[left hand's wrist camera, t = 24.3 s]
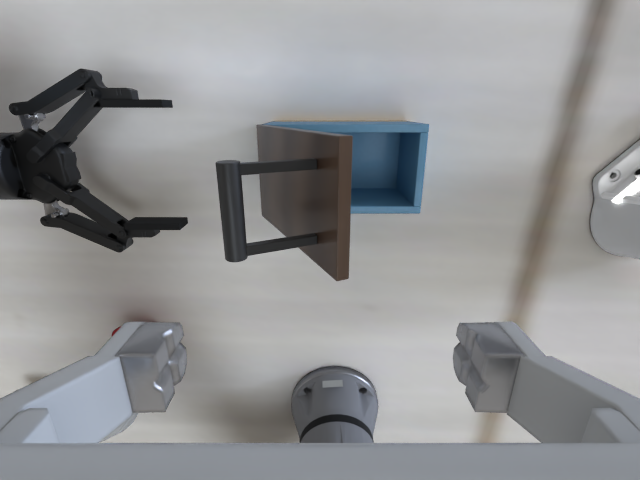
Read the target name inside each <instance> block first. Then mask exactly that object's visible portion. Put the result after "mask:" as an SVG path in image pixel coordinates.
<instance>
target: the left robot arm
mask: <svg viewBox="0 0 640 480" xmlns="http://www.w3.org/2000/svg"><path fill="white" fill-rule="evenodd" d="M611 173H612V176H611V177H610V175H611ZM593 193H594V205H593V208H592V212H591V219H590V226H591V232H592V235H593V237H594V239H595V241H596V243H597V244H598V245H599V246H600V247H601V248H602V249H603V250H605V251H606V252H608V253H611V254H613V255H617V256H624V257H631V258H635V259H640V140H639V141H637V142H636V143H635V144H634V145H633V146H631V147H630V148H629V149H628V150H626V151H625V152H624V153H623V154H621V155H620V156H619V157H618V158H616V159H615V160H614V161H613V162H612V163H610V164H609V165H608V166H607V167H605V168H604V169H603V170H602V171H600V172H599V173H598V174H597V175H596V176H595V177H594V179H593ZM183 336H184V333H183V328H182V325H181V324H180V323H178V322H127V323H124V324H123V325H122V326H121V327H120V329H119V330H118V331H117V332H116V333H115V334H114V335H113V336H112V337H111V338H110V339H109V340H108V342H107V343H106V344H105V345H104V346H103V347H102V348H101V349H100V350H99V351H98V352H97V353H96V354H95V356H88V357H86V358H84V359H82V360H80V361H77V362H75V363H73V364H71V365H69V366H67V367H65V368H63V369H61V370H59V371H57V372H55V373H52V374H50V375H48V376H46V377H44V378H42V379H40V380H38V381H36V382H34V383H32V384H30V385H28V386H25V387H23V388H21V389H19V390H17V391H15V392H13V393H11V394H9V395H7V396H5V397H3V398H0V480H640V399H639V398H637V397H635V396H633V395H631V394H629V393H627V392H625V391H623V390H621V389H619V388H616V387H614V386H612V385H610V384H608V383H606V382H604V381H602V380H600V379H598V378H596V377H594V376H592V375H589V374H587V373H585V372H583V371H581V370H579V369H577V368H575V367H573V366H571V365H569V364H567V363H565V362H563V361H560V360H558V359H556V358H554V357H552V356H545V355H544V353H543V352H542V351H541V350H540V349H539V348H538V347H537V346H536V345H535V344H534V343H533V342H532V340H531V339H530V338H529V337H528V336H527V335H526V334H525V333H524V332H523V331H522V330H521V329H520V327H519V326H518V325H517V324H516V323H514V322H486V323H459V325H458V328H457V333H456V336H457V338H458V339H459V341H460V343H459V344H458V345H457V346H456V347H455V348H454V353H453V364H454V370H455V373H456V376H457V378H458V380H459V381H460V382H461V383H463V384H464V385H465V386H466V392H465V394H466V395H467V397H468V399H469V401H470V403H471V405H472V407H473V409H474V411H475V412H496V413H507V415H508V416H510V417H511V418H512V419H513V420H515V421H516V422H517V423H518V424H519V425H521V426H522V427H523V428H524V429H526V430H527V431H528V432H529V433H530V434H532V435H533V436H534V437H535V438H536V439H538V440H539V441H540V442H541V443H99V442H100V441H101V440H102V439H104V438H105V437H106V436H107V435H109V434H110V433H111V432H112V431H113V430H115V429H116V428H117V427H118V426H119V425H121V424H122V423H123V422H124V421H126V420H127V419H128V418H129V417H130V416H132V415H133V413H143V412H165V411H166V409H167V407H168V405H169V403H170V401H171V399H172V397H173V395H174V394H175V391H174V386H175V385H176V384H177V383H179V382H180V381H181V380H182V378H183V376H184V374H185V369H186V365H187V352H186V348H185V347H184V346H183V345H182V344H181V343H180V341H181V339H182V338H183Z"/></svg>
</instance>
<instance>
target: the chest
mask: <svg viewBox="0 0 640 480" xmlns="http://www.w3.org/2000/svg"><path fill="white" fill-rule="evenodd" d="M262 125H272V126H280V127H288V128H296V129H304V130H312V131H320V132H328V133H336V134H344V135H351V136H353V148H352V181H351V213H420V209H421V207H420V206H421V199H422V189H423V179H424V169H425V159H426V149H427V140H428V130H429V124H423V123H416V122H409V121H273V122H270V123H266V124H262Z"/></svg>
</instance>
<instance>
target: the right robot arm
mask: <svg viewBox="0 0 640 480" xmlns="http://www.w3.org/2000/svg"><path fill="white" fill-rule="evenodd" d="M84 92H85V93H84ZM82 93H84V94H83V95H82V97H81V98H80V99H79V100H78V101H77V102H76V103H75V105H74V106H73V107H72V108H71V109H70V110H69V111H68V113H67V114H66V115H65V116H64V117H63V118H62V119H61V121H60V122H59V123H58V124H57V125H56V126H55V127H54V128H53V129H52V130H50V131H48V132H45V131H44V130H42V129H39V128H38V124H39V122H41V121H43V119H45V118H46V115H45V114H46V113H50V112H52V111H54V110H56V109H58V108H59V107H61V106H63V105H64V104H66V103H67V102H69V101H71V100H72V99H74V98H76V97H77V96H79V95H81V94H82ZM103 107H141V108H173V106H172V100H139V98H138V92H137V90H134V89H130V88H107V87H106V86H105V85H104V84H103V82H102V75H101V74H100V73H99V72H97V71H92V70H87V69H79V70H77V71H75V72H74V73H72V74H71V75H69V76H67V77H66V78H64V79H63V80H61V81H59V82H58V83H56V84H55V85H53V86H51V87H50V88H48V89H47V90H45V91H43V92H42V93H40V94H39V95H37V96H35V97H34V98H32V99H31V100H29V101H27V102H19V103H12V104H10V105H9V110H10V112H11V113H12V114H14V115H19V118H20V120H21V123H22V126H23V128H24V130H22V131H21V132H19V133H0V199H24V200H29V199H33V200H38V201H40V202H42V203H44V208H45V214H46V216H44V217H42V218H41V219H40V221H41V223H42V225H44V226H48V227H57V228H62V229H64V230H67V231H69V232H71V233H74V234H76V235H78V236H81V237H83V238H86V239H88V240H90V241H93V242H95V243H97V244H100V245H102V246H104V247H107V248H109V249H111V250H114V251H116V252H122V251H124V250H125V249H126V248H128V247H129V246H131V245H132V244H133V239H132V238H133V237H153V236H155V235H157V234H158V233H159V232H160V230H180V229H182V228H183V227H184V226H185V225H186V224H188V220H187V217H135V218H133V219H131V220H130V221H128V220H127V219H126V218H124V217H123V216H121V215H120V214H119V213H117V212H116V211H114V210H113V209H111V208H110V207H109V206H107V205H106V204H104V203H103V202H102V201H100V200H99V199H97V198H96V197H94V196H93V195H92V194H90V193H89V190H88V189H87V188H85V187H84V186H83V185H81V184H80V183H78V182H79V179H81V176H80V172H79V170H78V168H77V166H76V154H75V152H72V150H71V149H70V148H69V147H70V146H71V145H72V144H73V143H74V141H75V140H76V139H77V135H78V134H79V133H80V132H81V131H82V130H83V129H84V128H85V127H86V125H87V124H88V123H89V122H90V121H91V120H92V119H93V118H94V117H95V116H96V114H97V113H98V112H99V111H100V110H101V109H102V108H103ZM70 191H72V192H70ZM59 200H60V201H62V202H63V203H65V204H68V205H72V206H74V207H75V208H77V209H78V210H79V211H81V212H82V213H84V214H85V215H87V216H88V217H90V218H91V219H93V220H94V221H95V222H94V221H92V220H90V219H87V218H85V217H83V216H80V215H78V214H75V213H70V212H69V210H68V209H67V208H63V207H61V206H59V204H58V202H57V201H59ZM96 222H97V223H96ZM291 408H292V414H293V418H294V421H295V425H296V428H297V431H298V434H299V438H300V443H374V442H373V432H374V427H375V422H376V418H377V413H378V400H377V395H376V391H375V388H374V387H373V385H372V383H371V382H370V381H369V380H368V379H367V378H366V377H365V376H364V375H362V374H361V373H359V372H357V371H355V370H352V369H349V368H345V367H325V368H321V369H318V370H315V371H313V372H311V373H309V374H307V375H306V376H305V377H303V378H302V379H301V380H300V381H299V383H298V384H297V385H296V387H295V389H294V392H293V396H292V407H291Z"/></svg>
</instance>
